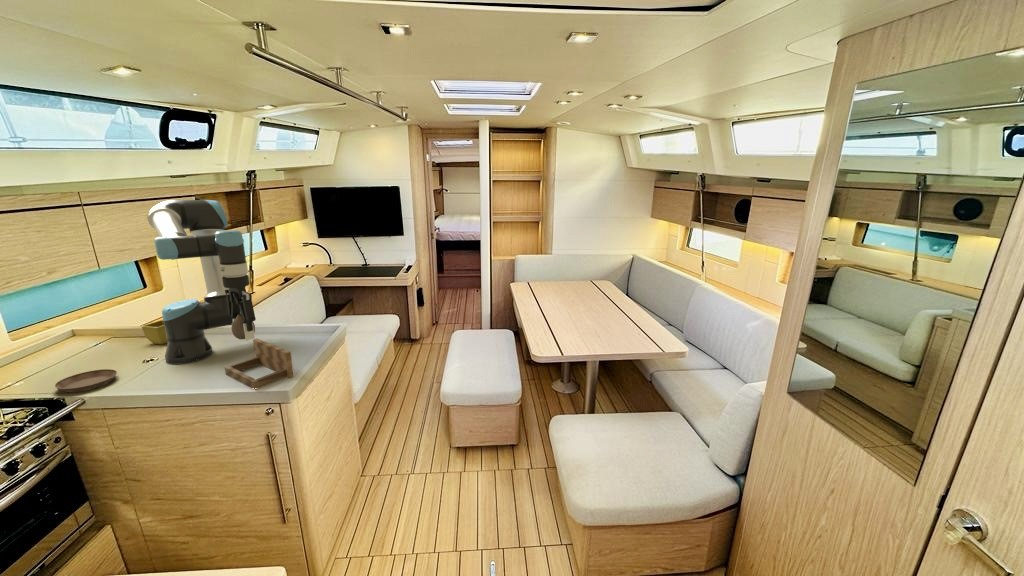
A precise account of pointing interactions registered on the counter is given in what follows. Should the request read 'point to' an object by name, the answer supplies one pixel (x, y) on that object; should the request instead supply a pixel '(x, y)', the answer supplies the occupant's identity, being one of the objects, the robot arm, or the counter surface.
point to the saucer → (86, 380)
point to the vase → (239, 327)
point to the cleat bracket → (267, 357)
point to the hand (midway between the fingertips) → (244, 336)
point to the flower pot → (155, 332)
